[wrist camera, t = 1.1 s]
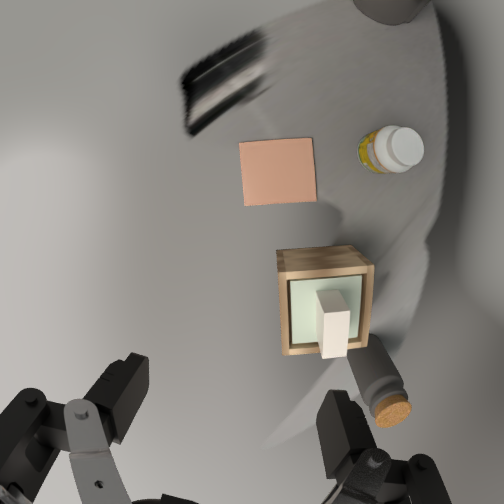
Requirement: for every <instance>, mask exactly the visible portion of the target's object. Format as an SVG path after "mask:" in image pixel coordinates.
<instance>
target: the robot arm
mask: <svg viewBox="0 0 504 504" xmlns="http://www.w3.org/2000/svg"><path fill="white" fill-rule="evenodd" d="M353 1H354V3H355V5H356V6H357V7H358V9H359V10H361V11H362V12H363V13H364V14H365V15H367V16H368V17H370V18H371V19H373V20H375V21H378V22H380V23H383V24H387V25H398V24H401V23H402V22H407V23H409V22H410V21H411V20H412V19H413V18H414V17H415V16H416V15H417V14H418V13H419V12H420V11H421V10H422V9H423V8H424V7H425V6H426V5H427V4H428V3H429V2H430V1H431V0H353ZM148 388H149V359H148V357H146V356H143V355H139V354H136V353H130V355H129V356H128V357H127V359H126V360H125V361H122V360H117V361H115V362H113V363H111V364H110V365H109V366H108V367H107V368H106V370H105V371H104V373H102V375H101V376H100V378H99V379H98V380H97V381H96V382H95V384H94V385H93V386H92V387H91V389H90V390H89V391H88V392H87V394H86V395H85V396H84V398H83V399H74V400H72V401H70V402H68V403H67V404H60V403H55V402H51V401H47V399H46V396H45V395H44V393H43V392H42V391H40V390H38V389H35V388H26V389H23V390H22V391H20V392H19V393H18V394H17V396H16V397H15V398H14V399H13V400H12V401H11V402H10V404H9V405H8V406H7V407H6V408H5V409H4V411H3V412H2V413H1V414H0V504H33V502H34V500H35V498H36V496H37V494H38V492H39V489H40V488H41V486H42V484H43V482H44V480H45V478H46V476H47V474H48V473H49V471H50V469H51V467H52V465H53V463H54V462H55V460H56V458H57V456H58V454H59V452H60V450H63V451H68V452H71V453H70V454H69V458H70V463H71V467H72V471H73V475H74V478H75V482H76V485H77V489H78V492H79V495H80V498H81V501H82V504H198V503H196V502H193V501H190V500H186V499H181V498H177V497H174V496H169V495H166V494H162V497H161V499H143V500H137V501H133V502H131V500H130V498H129V496H128V494H127V491H126V489H125V487H124V485H123V482H122V480H121V478H120V475H119V473H118V470H117V468H116V465H115V462H114V460H113V457H112V454H111V451H110V449H109V447H110V445H111V443H112V442H115V443H117V444H121V442H122V440H123V439H124V437H125V435H126V433H127V431H128V429H129V427H130V425H131V423H132V421H133V419H134V417H135V415H136V413H137V411H138V409H139V408H140V406H141V404H142V402H143V400H144V398H145V396H146V394H147V391H148ZM316 425H317V430H318V435H319V440H320V445H321V450H322V456H323V461H324V466H325V471H326V477H327V479H336V480H337V484H336V485H335V486H334V487H333V489H332V490H331V491H330V493H329V494H328V495H327V497H326V498H325V499H324V501H323V502H322V503H321V504H411V502H412V504H452V503H451V501H450V498H449V495H448V493H447V490H446V488H445V486H444V483H443V481H442V478H441V476H440V474H439V471H438V469H437V467H436V464H435V463H434V461H433V459H431V457H429V456H427V455H425V454H416V455H414V456H412V458H410V459H409V461H402V460H394V459H391V457H390V455H389V454H388V453H387V452H386V451H384V450H382V449H380V448H377V446H376V443H375V441H374V438H373V435H372V433H371V431H370V428H369V425H367V420H366V418H365V415H364V413H363V410H362V408H361V407H360V406H359V405H358V404H357V403H356V402H355V401H350V398H349V396H348V393H347V391H346V390H329V391H328V392H327V394H326V396H325V399H324V401H323V403H322V405H321V407H320V409H319V411H318V414H317V418H316ZM409 496H410V498H409ZM410 499H411V502H410Z"/></svg>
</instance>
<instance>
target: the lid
mask: <svg viewBox="0 0 504 504" xmlns="http://www.w3.org/2000/svg"><path fill="white" fill-rule="evenodd" d="M361 284H362V275H361V274H352V275H340V276H328V277H316V278H303V279H290V296H291V325H292V344H297V343H309V342H318V344H319V348H320V352H321V355H322V358H323V359H324V358H334V357H342V356H347V346H348V338H355V337H357V336H358V326H359V314H360V301H361Z"/></svg>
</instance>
